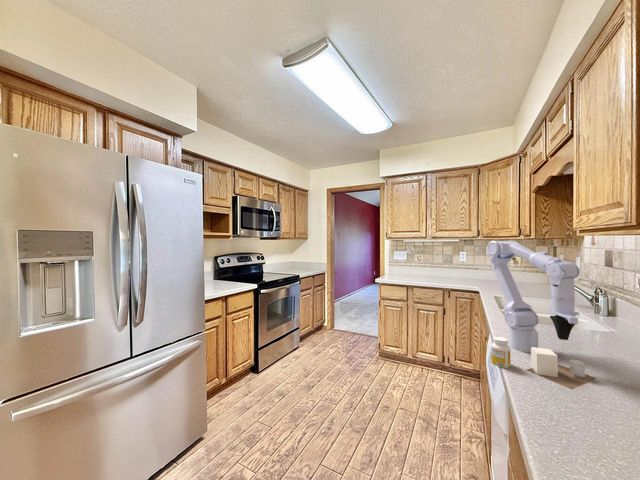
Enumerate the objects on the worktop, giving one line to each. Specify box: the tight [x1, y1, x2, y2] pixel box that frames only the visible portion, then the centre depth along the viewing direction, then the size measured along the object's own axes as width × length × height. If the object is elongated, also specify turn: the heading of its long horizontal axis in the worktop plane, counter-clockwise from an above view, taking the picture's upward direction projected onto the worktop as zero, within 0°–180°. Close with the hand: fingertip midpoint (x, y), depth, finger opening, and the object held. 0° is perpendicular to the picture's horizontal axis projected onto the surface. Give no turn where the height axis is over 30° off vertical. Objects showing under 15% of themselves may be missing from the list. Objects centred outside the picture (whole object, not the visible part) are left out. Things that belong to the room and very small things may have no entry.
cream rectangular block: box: [530, 347, 559, 377], centre depth 86 cm, size 5×5×7 cm
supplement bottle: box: [490, 336, 511, 369], centre depth 91 cm, size 5×5×10 cm
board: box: [526, 364, 597, 390], centre depth 84 cm, size 14×12×1 cm
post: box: [569, 359, 586, 379], centre depth 83 cm, size 3×3×4 cm
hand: (562, 339), depth 88 cm, fingers closed
